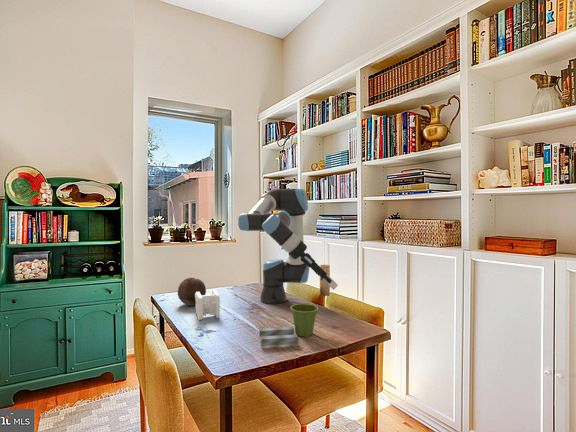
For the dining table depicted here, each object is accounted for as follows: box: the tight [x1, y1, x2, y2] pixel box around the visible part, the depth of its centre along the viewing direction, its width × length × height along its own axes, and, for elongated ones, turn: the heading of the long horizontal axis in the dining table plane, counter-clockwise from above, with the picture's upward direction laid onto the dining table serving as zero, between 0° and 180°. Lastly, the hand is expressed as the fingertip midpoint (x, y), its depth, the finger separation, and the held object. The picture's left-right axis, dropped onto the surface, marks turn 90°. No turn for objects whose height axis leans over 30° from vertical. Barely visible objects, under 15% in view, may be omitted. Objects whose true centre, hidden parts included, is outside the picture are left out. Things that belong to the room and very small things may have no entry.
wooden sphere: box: [177, 277, 207, 306], centre depth 191 cm, size 15×15×15 cm
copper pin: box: [319, 264, 331, 297], centre depth 142 cm, size 4×4×12 cm
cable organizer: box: [195, 289, 221, 321], centre depth 171 cm, size 15×11×12 cm
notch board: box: [258, 326, 299, 350], centre depth 138 cm, size 14×12×4 cm
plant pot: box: [289, 303, 319, 338], centre depth 146 cm, size 12×12×11 cm
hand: (334, 286), depth 142 cm, fingers closed on copper pin, 4 cm apart
